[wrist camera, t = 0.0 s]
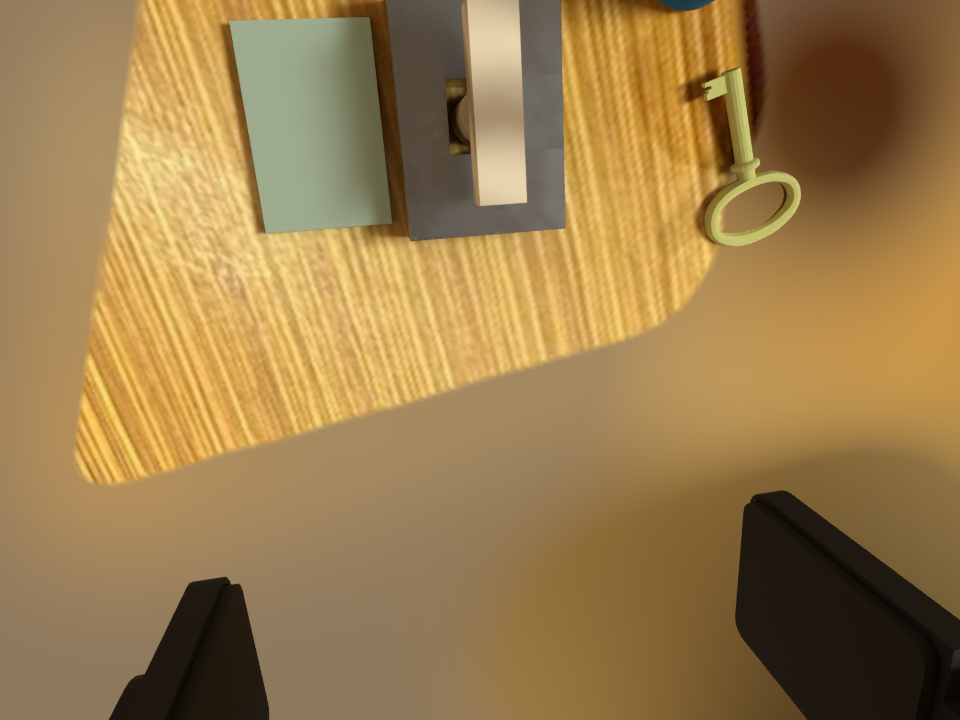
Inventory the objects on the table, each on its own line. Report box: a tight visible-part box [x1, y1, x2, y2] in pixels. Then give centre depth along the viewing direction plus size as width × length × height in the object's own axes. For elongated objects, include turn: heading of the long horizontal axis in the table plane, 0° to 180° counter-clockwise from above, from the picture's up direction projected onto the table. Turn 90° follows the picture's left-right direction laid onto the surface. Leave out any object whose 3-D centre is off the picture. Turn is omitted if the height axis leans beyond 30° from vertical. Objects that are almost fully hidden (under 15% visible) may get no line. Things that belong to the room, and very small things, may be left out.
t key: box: [452, 0, 527, 206], centre depth 34 cm, size 10×3×8 cm, turn 4°
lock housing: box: [385, 0, 565, 241], centre depth 36 cm, size 14×10×3 cm
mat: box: [229, 17, 392, 233], centre depth 36 cm, size 12×8×1 cm, turn 4°
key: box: [702, 67, 801, 247], centre depth 41 cm, size 7×12×2 cm, turn 40°
